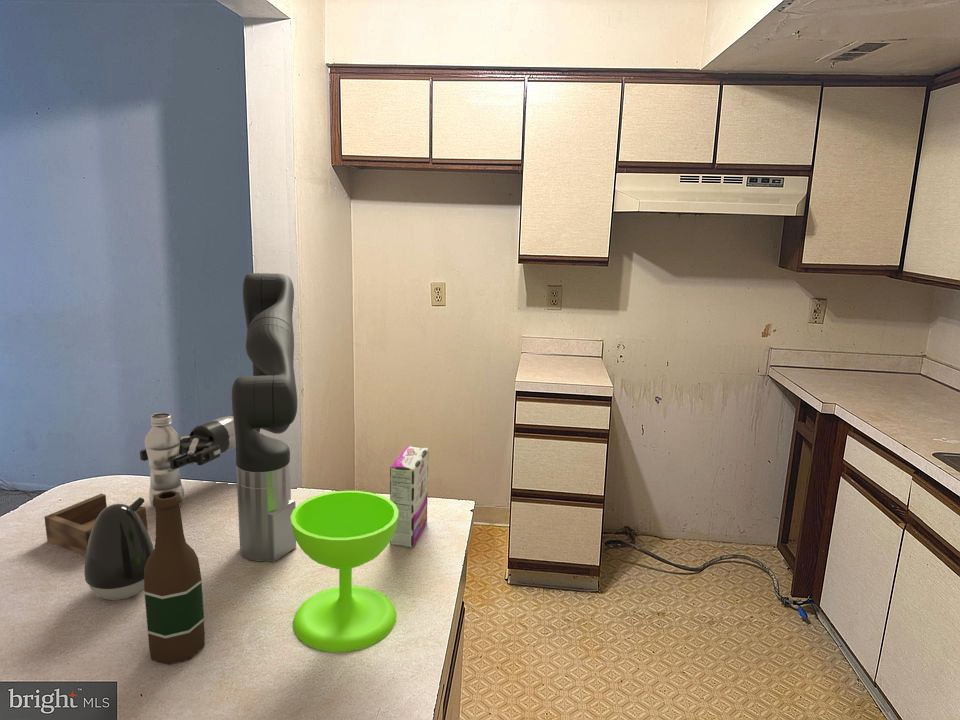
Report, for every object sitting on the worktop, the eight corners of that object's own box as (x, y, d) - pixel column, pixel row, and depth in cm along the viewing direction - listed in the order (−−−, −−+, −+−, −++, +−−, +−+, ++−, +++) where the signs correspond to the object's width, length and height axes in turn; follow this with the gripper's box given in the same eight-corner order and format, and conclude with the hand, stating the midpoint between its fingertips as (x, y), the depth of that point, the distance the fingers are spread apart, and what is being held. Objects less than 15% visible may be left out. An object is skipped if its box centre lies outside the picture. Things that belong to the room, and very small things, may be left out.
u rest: (147, 531, 125) (145, 507, 123) (92, 558, 115) (90, 533, 113) (103, 516, 129) (101, 493, 128) (47, 541, 119) (44, 516, 118)
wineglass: (309, 585, 110) (308, 487, 106) (403, 591, 110) (405, 493, 105) (278, 648, 94) (274, 536, 90) (387, 655, 94) (389, 543, 90)
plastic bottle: (171, 516, 131) (165, 422, 126) (142, 511, 132) (134, 418, 127) (191, 502, 137) (186, 412, 132) (163, 498, 138) (157, 409, 134)
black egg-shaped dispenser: (172, 580, 109) (166, 497, 106) (121, 615, 100) (112, 526, 96) (126, 567, 113) (118, 486, 109) (71, 600, 103) (61, 512, 99)
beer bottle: (160, 630, 97) (148, 482, 91) (214, 630, 98) (205, 482, 92) (138, 667, 89) (124, 507, 84) (196, 666, 90) (186, 507, 84)
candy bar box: (404, 518, 135) (406, 444, 131) (427, 521, 134) (430, 447, 130) (387, 545, 124) (389, 465, 120) (413, 549, 123) (415, 468, 119)
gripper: (193, 414, 147) (130, 436, 132) (242, 426, 141) (180, 449, 127) (195, 446, 148) (132, 470, 134) (243, 458, 143) (183, 485, 128)
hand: (156, 460), depth 130 cm, fingers open, 8 cm apart
